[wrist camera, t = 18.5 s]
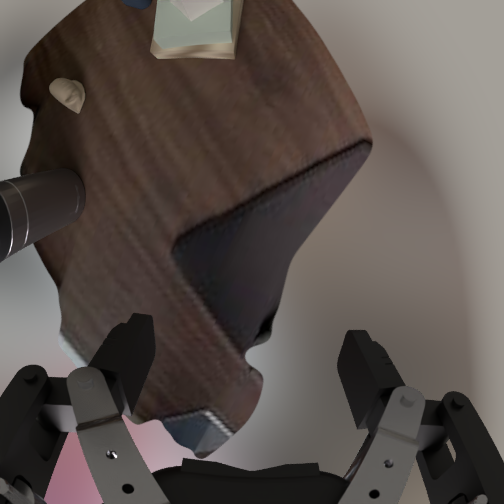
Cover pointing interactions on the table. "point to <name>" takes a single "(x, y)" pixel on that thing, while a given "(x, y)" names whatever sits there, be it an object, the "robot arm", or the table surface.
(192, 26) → the top block
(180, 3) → the white block
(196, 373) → the table surface
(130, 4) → the vaping device
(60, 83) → the decorative ornament
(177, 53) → the base block
